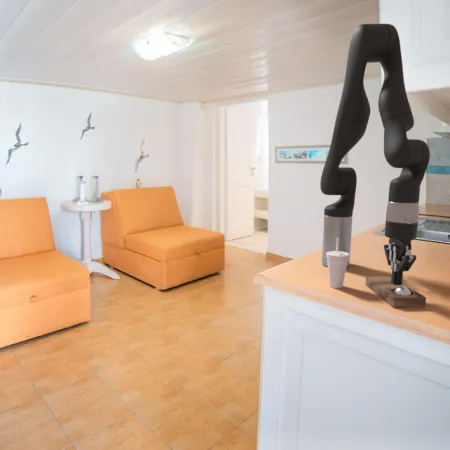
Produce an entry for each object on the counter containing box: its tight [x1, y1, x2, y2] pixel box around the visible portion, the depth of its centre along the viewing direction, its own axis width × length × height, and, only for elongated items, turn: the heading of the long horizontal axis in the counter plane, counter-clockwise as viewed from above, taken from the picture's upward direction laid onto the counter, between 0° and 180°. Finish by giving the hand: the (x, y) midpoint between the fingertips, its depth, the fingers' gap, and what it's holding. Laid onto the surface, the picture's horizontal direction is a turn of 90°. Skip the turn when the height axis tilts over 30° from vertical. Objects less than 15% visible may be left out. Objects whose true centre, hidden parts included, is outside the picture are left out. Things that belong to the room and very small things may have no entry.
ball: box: [394, 286, 411, 296], centre depth 95 cm, size 4×4×4 cm
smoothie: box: [326, 238, 349, 289], centre depth 106 cm, size 6×6×14 cm
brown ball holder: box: [364, 275, 427, 309], centre depth 100 cm, size 17×8×2 cm, turn 2°
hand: (396, 284), depth 98 cm, fingers closed
